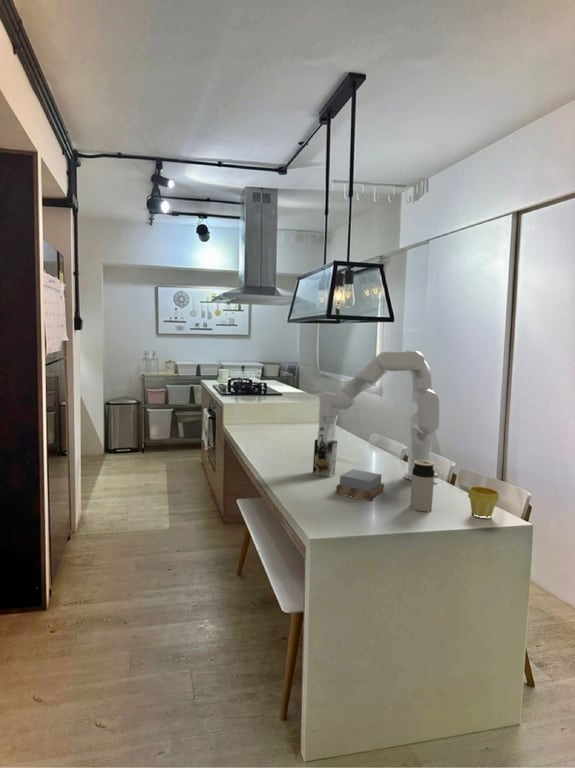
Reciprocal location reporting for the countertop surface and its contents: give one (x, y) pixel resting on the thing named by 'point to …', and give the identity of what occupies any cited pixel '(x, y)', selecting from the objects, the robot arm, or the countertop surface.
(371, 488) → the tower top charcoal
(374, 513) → the countertop surface
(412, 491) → the travel mug
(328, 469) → the coffee box
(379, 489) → the tower base walnut
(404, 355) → the robot arm
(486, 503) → the plant pot
